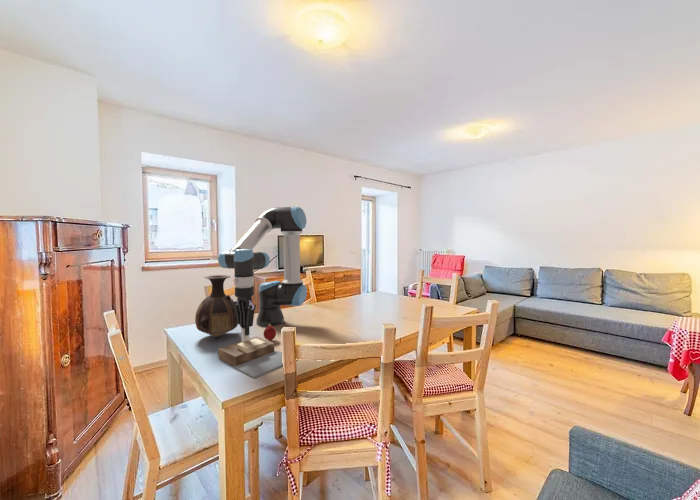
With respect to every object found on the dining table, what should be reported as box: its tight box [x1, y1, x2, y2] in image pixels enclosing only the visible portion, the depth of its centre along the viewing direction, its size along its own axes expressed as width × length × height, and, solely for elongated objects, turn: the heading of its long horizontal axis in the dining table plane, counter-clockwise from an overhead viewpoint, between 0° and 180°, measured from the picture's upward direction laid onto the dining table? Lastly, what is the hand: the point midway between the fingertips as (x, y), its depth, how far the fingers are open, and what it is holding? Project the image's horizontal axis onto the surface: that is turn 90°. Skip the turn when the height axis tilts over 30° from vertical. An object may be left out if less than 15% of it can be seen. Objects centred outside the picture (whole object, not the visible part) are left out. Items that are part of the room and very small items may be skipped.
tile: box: [237, 338, 266, 353], centre depth 126 cm, size 9×7×2 cm
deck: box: [217, 336, 275, 367], centre depth 128 cm, size 18×13×4 cm
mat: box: [233, 350, 284, 379], centre depth 120 cm, size 20×13×1 cm, turn 141°
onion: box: [263, 324, 277, 342], centre depth 144 cm, size 6×6×8 cm
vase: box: [194, 274, 238, 338], centre depth 150 cm, size 23×19×30 cm
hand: (245, 342), depth 128 cm, fingers closed
